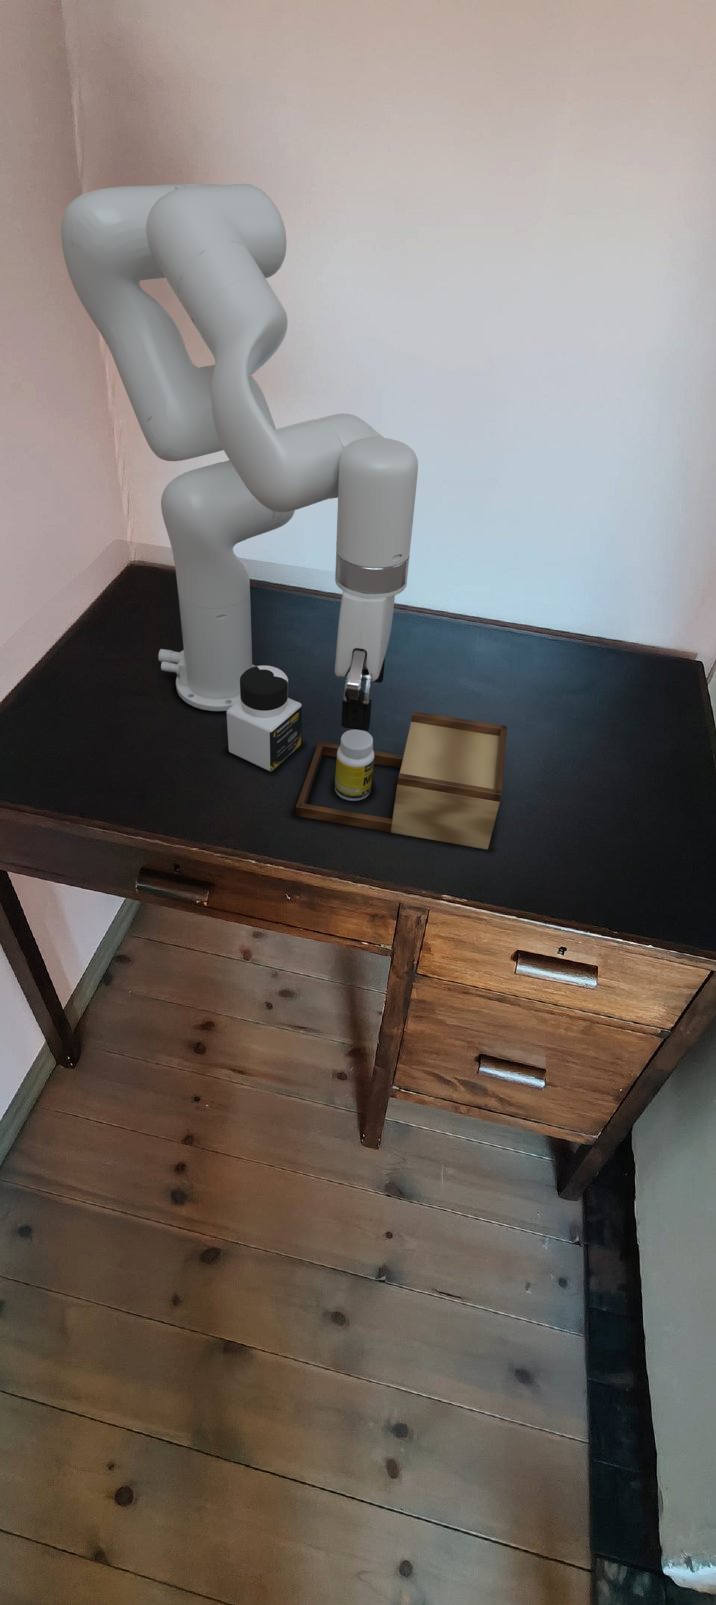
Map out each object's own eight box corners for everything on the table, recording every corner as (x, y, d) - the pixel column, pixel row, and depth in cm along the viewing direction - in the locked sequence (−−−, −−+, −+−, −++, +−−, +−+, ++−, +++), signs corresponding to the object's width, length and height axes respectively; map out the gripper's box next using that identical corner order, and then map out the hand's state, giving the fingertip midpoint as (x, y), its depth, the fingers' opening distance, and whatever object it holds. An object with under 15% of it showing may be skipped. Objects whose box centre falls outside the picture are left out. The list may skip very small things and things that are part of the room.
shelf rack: (295, 815, 103) (296, 759, 96) (318, 750, 112) (320, 695, 106) (487, 849, 101) (501, 794, 94) (494, 780, 110) (507, 725, 104)
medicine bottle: (271, 773, 108) (270, 699, 100) (227, 752, 111) (223, 678, 102) (301, 745, 113) (303, 671, 104) (259, 725, 115) (257, 652, 107)
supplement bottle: (367, 805, 105) (372, 754, 99) (330, 798, 105) (333, 748, 100) (373, 780, 108) (379, 730, 103) (338, 774, 109) (342, 724, 103)
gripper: (351, 528, 92) (345, 659, 104) (318, 604, 79) (315, 743, 91) (418, 536, 91) (404, 667, 103) (395, 614, 79) (382, 753, 90)
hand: (362, 703), depth 97 cm, fingers open, 9 cm apart
